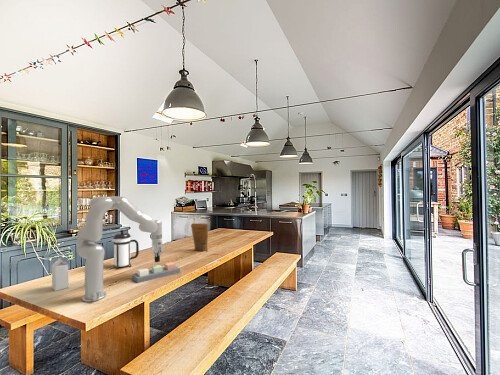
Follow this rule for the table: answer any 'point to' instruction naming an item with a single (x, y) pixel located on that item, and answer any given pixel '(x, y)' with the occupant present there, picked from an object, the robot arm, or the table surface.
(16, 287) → the table surface
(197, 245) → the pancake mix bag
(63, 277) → the milk carton
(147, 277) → the key console
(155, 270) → the sage key
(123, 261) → the coffee press
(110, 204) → the robot arm
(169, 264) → the terracotta key
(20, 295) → the table surface
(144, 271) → the cream key
